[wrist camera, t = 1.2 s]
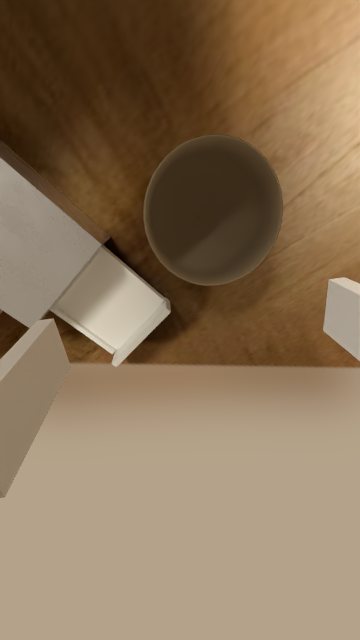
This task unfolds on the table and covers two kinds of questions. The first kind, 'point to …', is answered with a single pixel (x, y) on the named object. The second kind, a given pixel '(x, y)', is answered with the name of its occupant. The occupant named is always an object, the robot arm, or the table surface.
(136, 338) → the tray
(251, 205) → the bowl
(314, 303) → the table surface
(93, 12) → the table surface
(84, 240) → the housing
